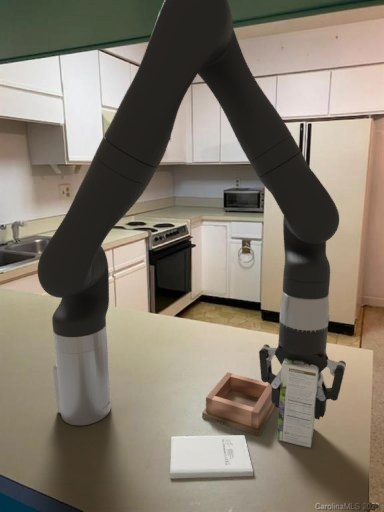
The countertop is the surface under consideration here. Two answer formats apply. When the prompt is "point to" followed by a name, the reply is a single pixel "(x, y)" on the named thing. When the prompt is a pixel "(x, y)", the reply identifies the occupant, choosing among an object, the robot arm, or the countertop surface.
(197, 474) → the external hard drive
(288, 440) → the syrup box
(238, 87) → the robot arm
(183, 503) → the countertop surface
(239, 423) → the socket
